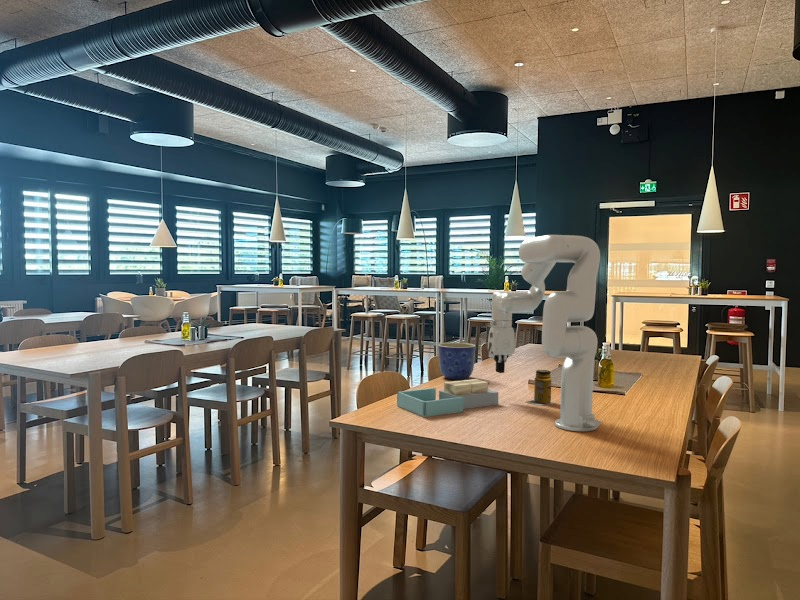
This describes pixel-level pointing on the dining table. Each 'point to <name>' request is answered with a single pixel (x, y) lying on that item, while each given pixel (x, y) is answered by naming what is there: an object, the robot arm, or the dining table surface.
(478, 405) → the grey rectangular block
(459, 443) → the dining table surface
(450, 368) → the planter
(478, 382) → the tile
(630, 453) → the dining table surface
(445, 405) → the tray
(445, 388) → the tile
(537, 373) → the condiment
